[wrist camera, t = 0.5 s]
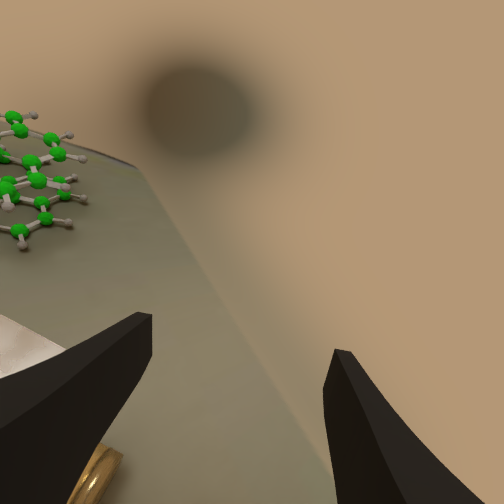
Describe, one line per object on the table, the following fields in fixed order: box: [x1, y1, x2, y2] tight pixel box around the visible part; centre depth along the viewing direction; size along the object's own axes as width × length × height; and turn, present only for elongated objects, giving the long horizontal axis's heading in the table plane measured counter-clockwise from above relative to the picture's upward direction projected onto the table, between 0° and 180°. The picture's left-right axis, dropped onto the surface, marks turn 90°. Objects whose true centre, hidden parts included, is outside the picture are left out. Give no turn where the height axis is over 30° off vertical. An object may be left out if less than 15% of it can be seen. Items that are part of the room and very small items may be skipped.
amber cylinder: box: [67, 442, 123, 504], centre depth 18 cm, size 4×11×4 cm, turn 71°
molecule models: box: [0, 111, 87, 250], centre depth 33 cm, size 17×25×10 cm, turn 35°
